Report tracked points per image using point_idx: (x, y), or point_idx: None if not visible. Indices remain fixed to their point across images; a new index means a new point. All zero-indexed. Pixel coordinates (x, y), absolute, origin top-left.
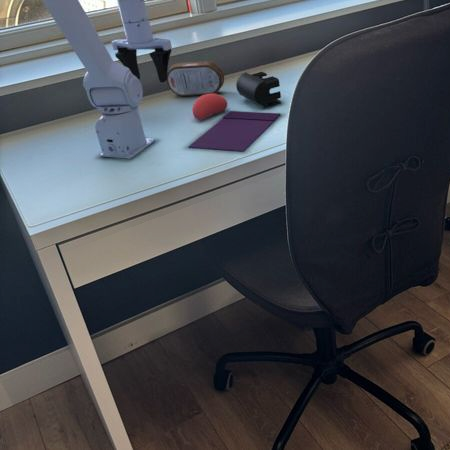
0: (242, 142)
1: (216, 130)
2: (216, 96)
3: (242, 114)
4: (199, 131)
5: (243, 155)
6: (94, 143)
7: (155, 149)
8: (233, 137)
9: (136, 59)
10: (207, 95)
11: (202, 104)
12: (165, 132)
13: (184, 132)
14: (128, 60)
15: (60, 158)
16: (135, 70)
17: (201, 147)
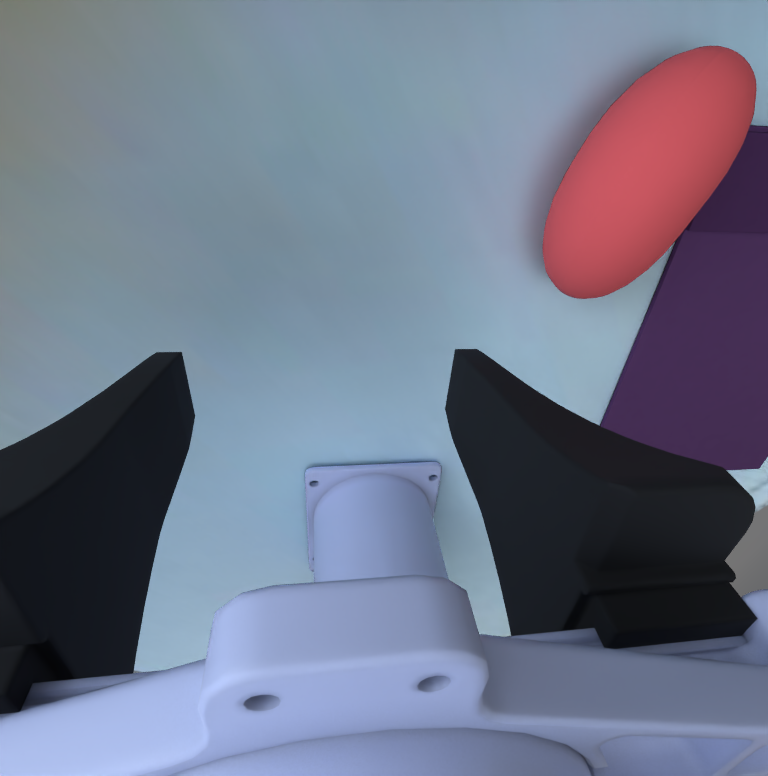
0: (761, 426)
1: (665, 359)
2: (730, 162)
3: None
4: (588, 363)
5: (754, 480)
6: (200, 509)
7: (469, 500)
8: (732, 400)
9: (99, 448)
10: (685, 206)
11: (636, 276)
12: (440, 392)
13: (525, 380)
14: (132, 587)
15: (179, 592)
16: (160, 434)
17: None
